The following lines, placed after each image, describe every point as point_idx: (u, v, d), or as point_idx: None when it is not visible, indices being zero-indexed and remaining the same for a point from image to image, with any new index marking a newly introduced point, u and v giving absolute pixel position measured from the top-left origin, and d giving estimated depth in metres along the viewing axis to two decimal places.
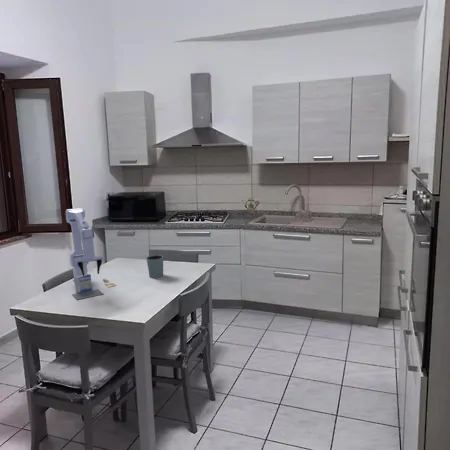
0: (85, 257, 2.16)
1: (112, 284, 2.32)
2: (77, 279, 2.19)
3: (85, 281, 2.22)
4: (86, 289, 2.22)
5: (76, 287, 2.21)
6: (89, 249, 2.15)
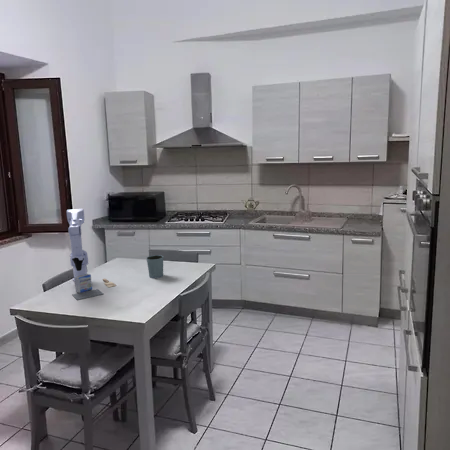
0: None
1: (112, 284, 2.32)
2: (77, 279, 2.19)
3: (85, 281, 2.22)
4: (86, 289, 2.22)
5: (76, 287, 2.21)
6: (75, 246, 2.22)
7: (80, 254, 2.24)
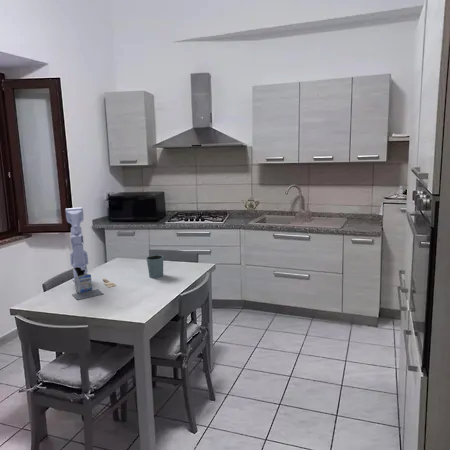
0: None
1: (112, 284, 2.32)
2: (77, 279, 2.19)
3: (85, 281, 2.22)
4: (86, 289, 2.22)
5: (76, 287, 2.21)
6: (78, 255, 2.21)
7: (82, 264, 2.23)
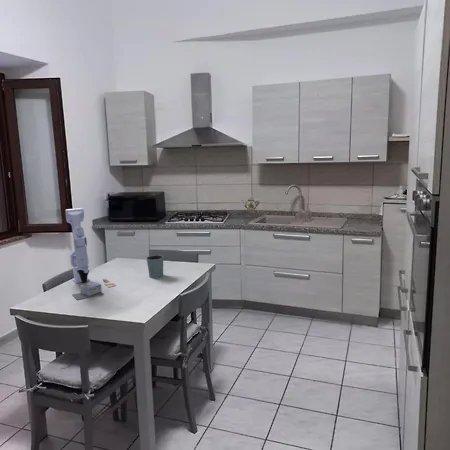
0: None
1: (112, 284, 2.32)
2: (88, 293, 2.14)
3: None
4: None
5: (82, 289, 2.17)
6: (81, 258, 2.16)
7: (85, 266, 2.18)
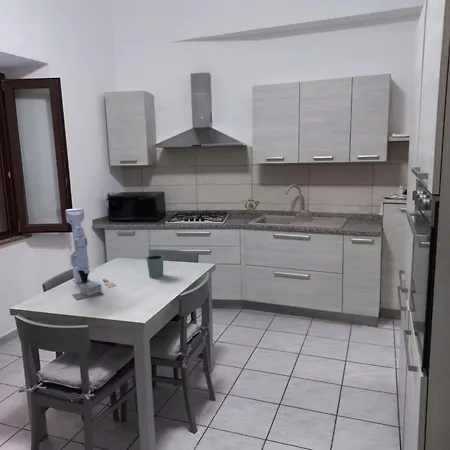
0: None
1: (112, 284, 2.32)
2: (88, 293, 2.14)
3: None
4: None
5: (82, 289, 2.17)
6: (82, 258, 2.15)
7: (86, 266, 2.17)
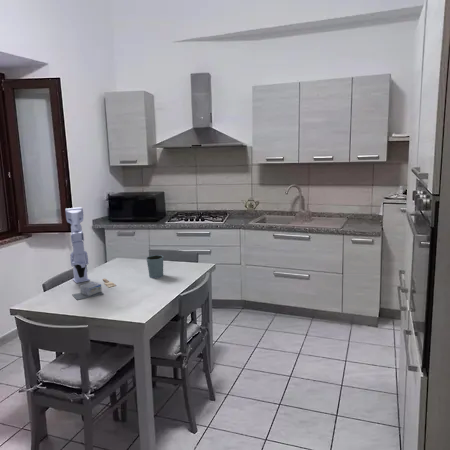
0: None
1: (112, 284, 2.32)
2: (88, 293, 2.14)
3: None
4: None
5: (82, 289, 2.17)
6: (78, 252, 2.20)
7: (83, 261, 2.21)
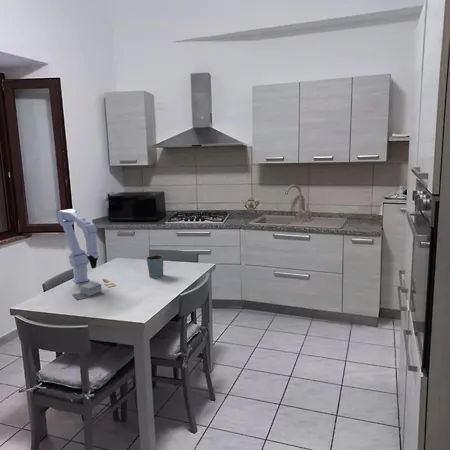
0: None
1: (112, 284, 2.32)
2: (88, 293, 2.14)
3: None
4: None
5: (82, 289, 2.17)
6: (93, 243, 2.26)
7: (95, 252, 2.28)
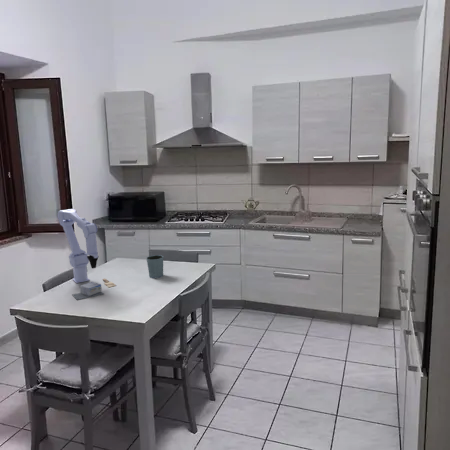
0: None
1: (112, 284, 2.32)
2: (88, 293, 2.14)
3: None
4: None
5: (82, 289, 2.17)
6: (93, 243, 2.26)
7: (95, 252, 2.28)
